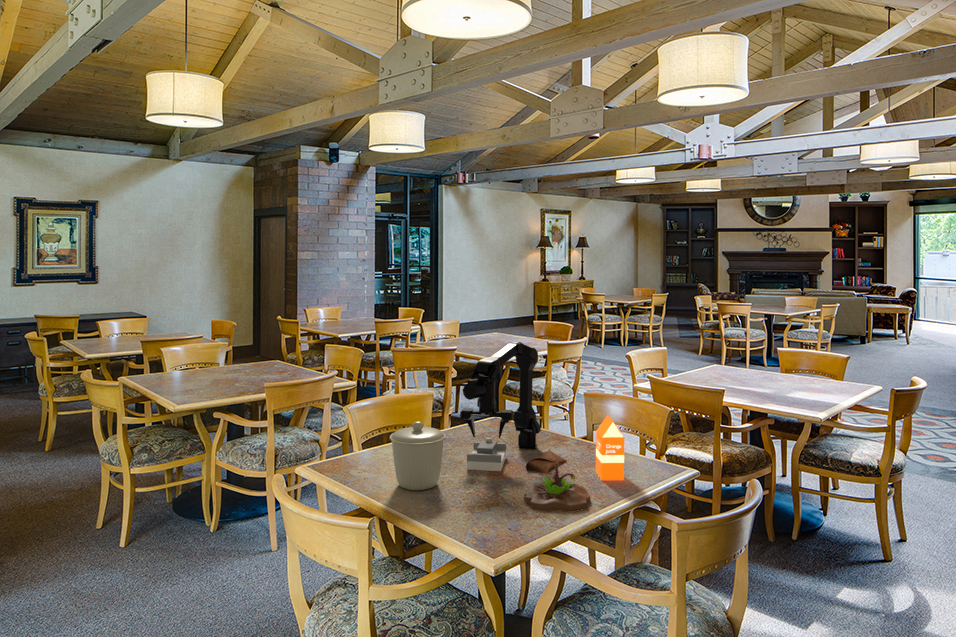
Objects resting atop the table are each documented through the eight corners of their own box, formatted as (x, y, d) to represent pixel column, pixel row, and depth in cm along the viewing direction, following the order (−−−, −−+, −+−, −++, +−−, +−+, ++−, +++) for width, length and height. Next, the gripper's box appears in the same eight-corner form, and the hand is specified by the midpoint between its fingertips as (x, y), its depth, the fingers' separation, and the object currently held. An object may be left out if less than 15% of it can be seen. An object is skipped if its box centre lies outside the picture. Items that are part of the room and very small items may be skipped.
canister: (383, 493, 198) (382, 427, 196) (398, 474, 215) (397, 414, 214) (439, 496, 195) (439, 430, 193) (450, 477, 213) (450, 416, 211)
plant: (589, 490, 202) (589, 456, 201) (591, 514, 182) (592, 476, 181) (526, 487, 204) (526, 453, 203) (522, 510, 185) (522, 473, 184)
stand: (506, 457, 235) (506, 442, 234) (500, 471, 219) (501, 455, 219) (474, 455, 237) (474, 441, 236) (466, 469, 221) (466, 454, 220)
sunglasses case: (547, 474, 216) (538, 456, 217) (531, 481, 219) (523, 463, 220) (568, 460, 231) (559, 443, 232) (553, 467, 234) (544, 450, 236)
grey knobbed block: (492, 459, 222) (492, 445, 222) (477, 458, 223) (477, 444, 223) (496, 451, 232) (497, 437, 231) (482, 450, 233) (482, 437, 233)
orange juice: (617, 471, 219) (618, 415, 217) (624, 480, 210) (625, 421, 208) (595, 471, 219) (595, 415, 217) (600, 480, 210) (601, 421, 208)
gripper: (515, 391, 232) (514, 433, 233) (465, 389, 235) (465, 431, 236) (512, 397, 221) (511, 441, 222) (459, 396, 224) (459, 439, 225)
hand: (486, 437), depth 227 cm, fingers open, 9 cm apart
